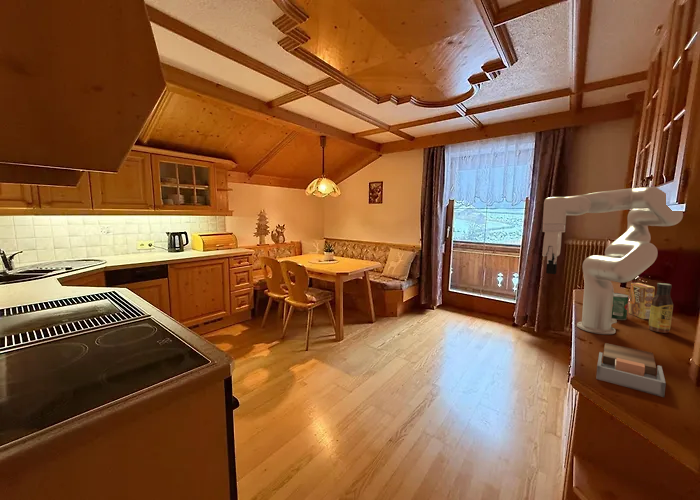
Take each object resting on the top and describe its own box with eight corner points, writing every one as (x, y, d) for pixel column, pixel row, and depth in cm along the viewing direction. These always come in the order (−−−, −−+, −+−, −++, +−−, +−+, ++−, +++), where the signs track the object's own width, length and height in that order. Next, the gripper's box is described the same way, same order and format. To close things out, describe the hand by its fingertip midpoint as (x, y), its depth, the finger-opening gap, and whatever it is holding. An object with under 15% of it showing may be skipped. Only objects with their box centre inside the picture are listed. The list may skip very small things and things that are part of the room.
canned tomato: (599, 314, 144) (601, 292, 142) (616, 314, 143) (618, 292, 142) (613, 320, 136) (615, 296, 134) (631, 320, 135) (633, 296, 134)
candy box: (652, 319, 135) (656, 287, 134) (642, 319, 136) (645, 286, 134) (637, 313, 144) (640, 282, 142) (627, 313, 145) (630, 282, 143)
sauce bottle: (662, 334, 119) (667, 286, 117) (644, 328, 125) (648, 282, 123) (674, 332, 120) (679, 285, 118) (656, 327, 126) (660, 281, 124)
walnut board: (604, 350, 106) (604, 342, 105) (652, 361, 98) (652, 352, 97) (602, 364, 96) (603, 355, 96) (655, 377, 88) (656, 368, 88)
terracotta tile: (616, 357, 90) (616, 360, 88) (644, 363, 86) (644, 367, 84) (615, 373, 90) (615, 376, 88) (642, 380, 86) (643, 383, 84)
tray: (598, 363, 97) (599, 352, 97) (660, 378, 88) (661, 366, 87) (596, 378, 88) (597, 366, 88) (664, 397, 79) (665, 383, 78)
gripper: (546, 227, 126) (543, 269, 128) (538, 229, 115) (536, 275, 117) (567, 227, 121) (565, 271, 123) (562, 229, 110) (559, 277, 112)
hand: (551, 273), depth 120 cm, fingers closed
